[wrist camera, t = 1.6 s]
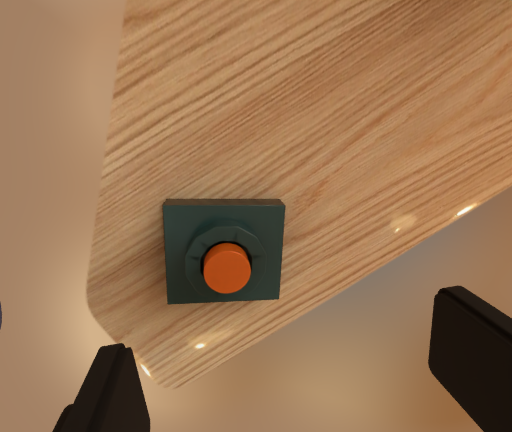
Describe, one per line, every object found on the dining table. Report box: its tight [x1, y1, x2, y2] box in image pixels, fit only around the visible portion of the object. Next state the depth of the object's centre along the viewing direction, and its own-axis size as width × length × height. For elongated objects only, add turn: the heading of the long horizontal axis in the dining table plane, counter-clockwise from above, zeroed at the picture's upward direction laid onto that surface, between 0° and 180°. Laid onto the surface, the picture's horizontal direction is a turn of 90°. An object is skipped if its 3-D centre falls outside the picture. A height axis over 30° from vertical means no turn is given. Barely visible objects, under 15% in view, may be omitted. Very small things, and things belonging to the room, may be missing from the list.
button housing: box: [163, 199, 285, 304], centre depth 27 cm, size 10×9×4 cm
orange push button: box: [204, 243, 251, 293], centre depth 25 cm, size 4×4×2 cm
